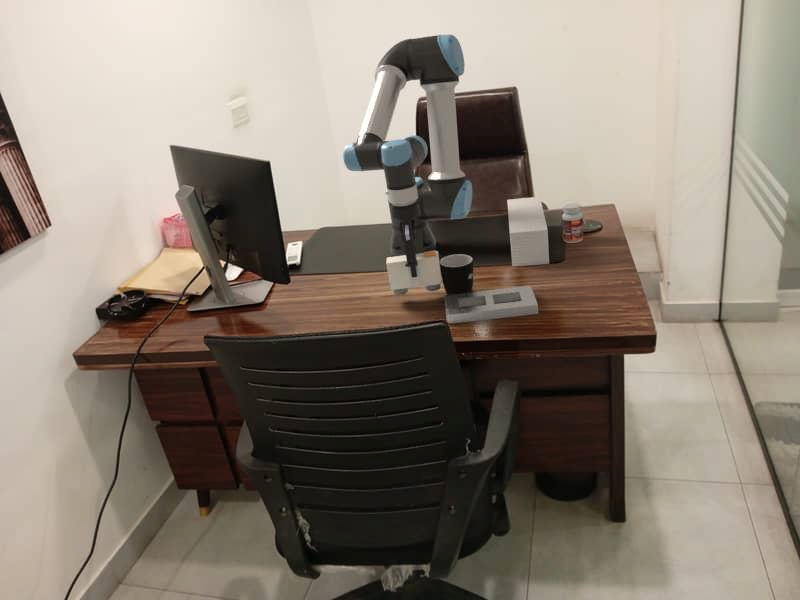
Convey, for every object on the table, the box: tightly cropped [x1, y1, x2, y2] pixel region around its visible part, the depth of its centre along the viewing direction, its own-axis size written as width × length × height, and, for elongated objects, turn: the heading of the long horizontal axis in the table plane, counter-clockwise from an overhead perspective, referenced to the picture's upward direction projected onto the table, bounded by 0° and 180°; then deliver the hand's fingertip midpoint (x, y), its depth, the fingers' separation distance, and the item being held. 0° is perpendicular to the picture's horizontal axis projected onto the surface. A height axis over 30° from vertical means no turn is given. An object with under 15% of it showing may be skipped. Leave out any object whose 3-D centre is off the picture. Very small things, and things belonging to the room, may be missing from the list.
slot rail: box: [443, 285, 539, 325], centre depth 174 cm, size 12×23×2 cm, turn 89°
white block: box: [386, 249, 443, 296], centre depth 182 cm, size 4×14×10 cm, turn 89°
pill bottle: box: [561, 202, 584, 244], centre depth 207 cm, size 6×6×11 cm
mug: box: [439, 253, 474, 295], centre depth 184 cm, size 12×9×10 cm
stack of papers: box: [506, 196, 550, 267], centre depth 208 cm, size 32×11×11 cm, turn 173°
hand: (416, 282), depth 183 cm, fingers closed on white block, 4 cm apart
